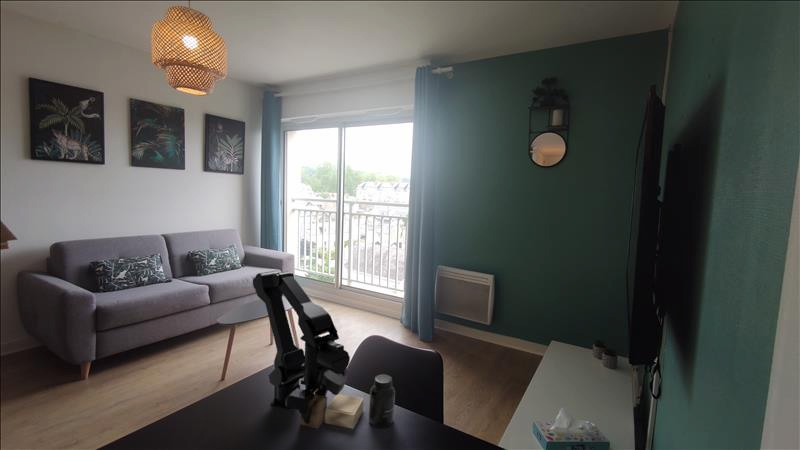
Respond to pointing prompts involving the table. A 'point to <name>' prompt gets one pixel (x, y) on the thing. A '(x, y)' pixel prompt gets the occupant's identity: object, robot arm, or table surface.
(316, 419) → the walnut block
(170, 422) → the table surface
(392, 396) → the supplement bottle
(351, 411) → the oak block
